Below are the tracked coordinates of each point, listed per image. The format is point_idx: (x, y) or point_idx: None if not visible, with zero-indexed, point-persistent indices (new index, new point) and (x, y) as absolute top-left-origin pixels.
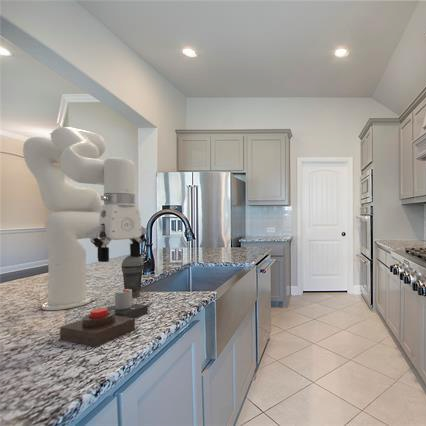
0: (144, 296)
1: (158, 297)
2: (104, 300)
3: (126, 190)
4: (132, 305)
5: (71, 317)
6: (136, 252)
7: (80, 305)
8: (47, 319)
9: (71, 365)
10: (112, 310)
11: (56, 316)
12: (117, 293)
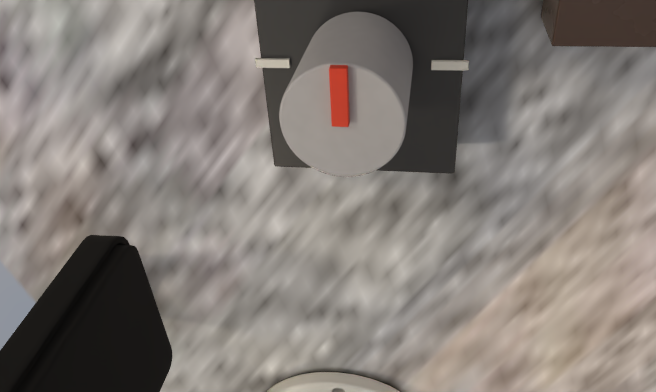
0: (74, 233)
1: (30, 144)
2: (230, 350)
3: None
4: (301, 44)
5: (475, 281)
6: (105, 321)
7: (340, 373)
8: (525, 346)
9: None
10: (444, 68)
11: (481, 347)
12: (406, 117)
